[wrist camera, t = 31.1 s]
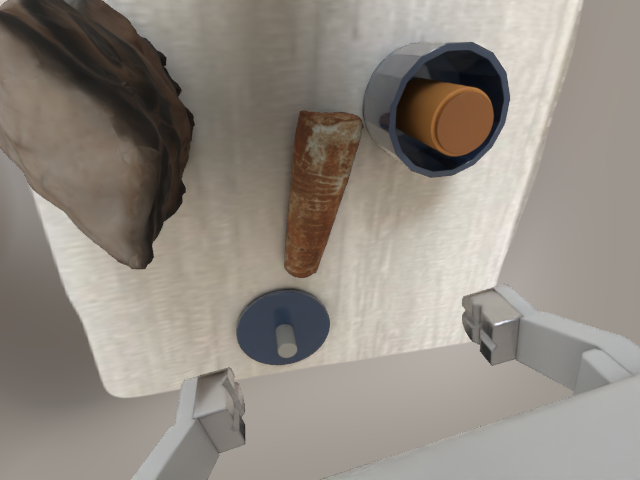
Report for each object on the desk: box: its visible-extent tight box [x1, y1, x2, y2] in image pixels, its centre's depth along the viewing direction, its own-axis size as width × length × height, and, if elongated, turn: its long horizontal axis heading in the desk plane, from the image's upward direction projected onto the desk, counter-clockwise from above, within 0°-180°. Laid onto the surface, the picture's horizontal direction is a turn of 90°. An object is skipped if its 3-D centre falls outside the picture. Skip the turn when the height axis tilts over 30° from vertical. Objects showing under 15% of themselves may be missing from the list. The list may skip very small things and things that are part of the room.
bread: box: [284, 111, 363, 278], centre depth 38 cm, size 6×19×6 cm, turn 167°
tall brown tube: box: [396, 78, 494, 156], centre depth 34 cm, size 6×6×10 cm
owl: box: [0, 0, 195, 269], centre depth 25 cm, size 13×13×20 cm
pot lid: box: [237, 290, 330, 365], centre depth 47 cm, size 12×12×5 cm
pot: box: [363, 42, 510, 178], centre depth 35 cm, size 11×11×8 cm
